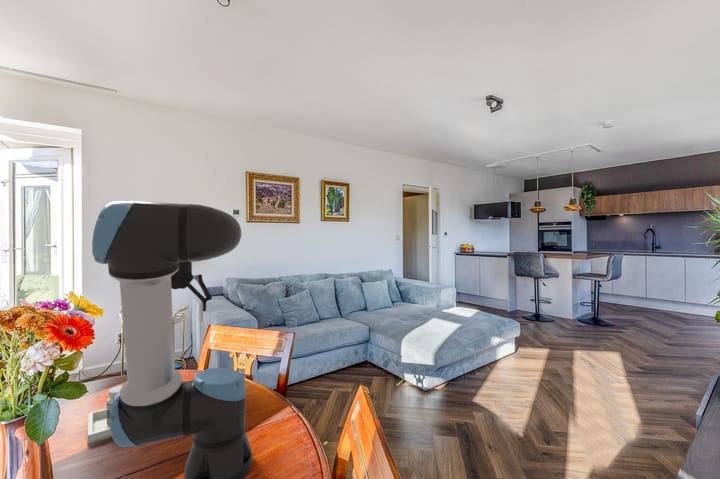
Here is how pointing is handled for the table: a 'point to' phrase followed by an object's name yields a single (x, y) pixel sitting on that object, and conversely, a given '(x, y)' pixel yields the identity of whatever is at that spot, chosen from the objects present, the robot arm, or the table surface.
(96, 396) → the table surface
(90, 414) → the tray
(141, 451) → the table surface
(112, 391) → the pill bottle
